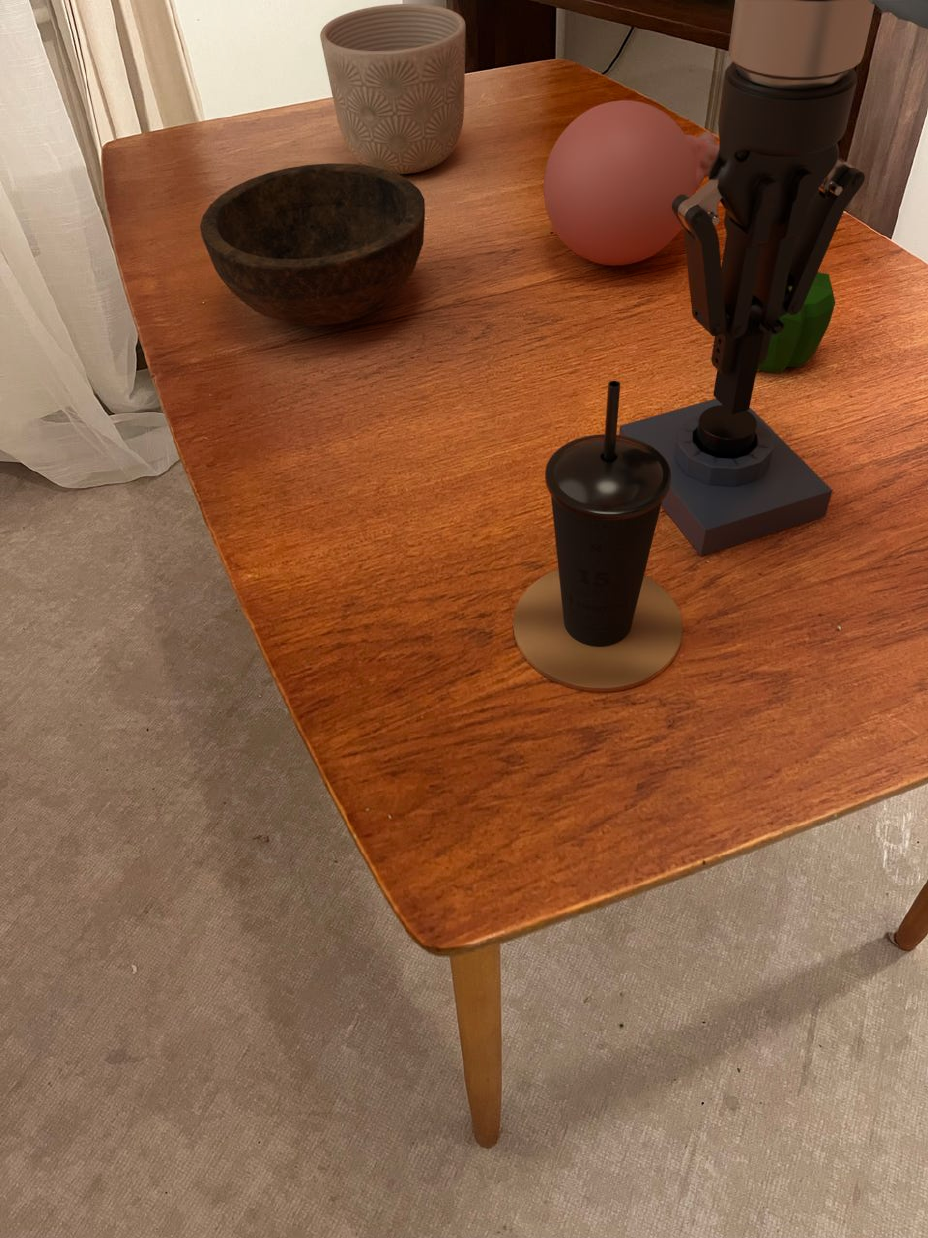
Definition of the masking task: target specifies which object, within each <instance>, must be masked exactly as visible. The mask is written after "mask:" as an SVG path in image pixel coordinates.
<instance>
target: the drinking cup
mask: <svg viewBox="0 0 928 1238" xmlns="http://www.w3.org/2000/svg"><path fill="white" fill-rule="evenodd" d="M620 393H621V382H620V381H618V380H611V381H609V382H608V384H607V396H606V397H607V398H606V412H605V427H604V433H602V434H591V435H586V436H582V437H579V438H576V439H573V440H571V441H569V442H566V443H565V444H564V445H563V444H562V446H560V447H559V448H558V449H557V450H556V451H555V452H553V454H552V455H551V456H550V458H549V459H548V462H547V463H546V465H545V470H544V481H545V486H546V488H547V491H548V493H549V494H550V499H551V509H552V520H553V529H554V541H555V549H556V558H557V569H558V570H559V579H560V589H561V599H562V609H563V619H564V625H565V628H566V630H567V632H568V633H569V634H570V636H571V637H572V638H574V639H575V640H577V641H578V642H580V643H582V644H585V645H589V646H594V647H604V646H610V645H613V644H616V643H618V642H620V641H621V640H622V639H624V638H625V637H626V636H627V635H628V633H629V631H630V629H631V626H632V622H633V618H634V614H635V610H636V606H637V602H638V598H639V594H640V589H641V585H642V581H643V577H644V575H645V573H646V568H647V564H648V561H649V557H650V552H651V549H652V544H653V541H654V537H655V532H656V529H657V524H658V519H659V516H660V512H661V508H662V506H661V504H662V501H663V499H664V498H665V497H666V495H667V493H668V491H669V488H670V484H671V471H670V467H669V465H668V463H667V461H666V459H665V458H664V457H663V456H662V455H661V453H660V452H658V451H657V450H656V449H655V448H653V447H652V446H650V445H648V444H646V443H644V442H642V441H640V440H637V439H634V438H631V437H627V436H621V435H619V434H617V432H618V420H619V406H620Z"/></svg>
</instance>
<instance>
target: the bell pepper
mask: <svg viewBox="0 0 928 1238" xmlns="http://www.w3.org/2000/svg"><path fill="white" fill-rule="evenodd" d="M791 289H792V286H790V288H789V290H790V291H791ZM835 305H836V299H835V294H834V290H833V285H832V282H831V278H830V274H829V273H826V272H825V273H824V272H819V271H818V272H817V274H816V277H815V279H814V281H813V284H812V286H811V288H810V291H809V293H808V295H807V298H806V300H805V302H804V305H803V307H802V309H801V310H800V311H799V312H798V313H797V314H795V315H790V314H789V313H787V314H786V315H784V316H782V317H781V318H779V320H780V321H781V322H782V323H784V324H785V327H784V329H783V330H782V331H781V332H780V333H778V334H776V335H773V334H771V338H770V343H769V348H768V353H767V357H766V359H765V361H764V363H762V364H759V365H758V367H757V371H763V372H767V373H772V374H773V373H780V372H784V371H785V370H786V368H798V367H803V366H805V365H806V364H807V363H808V362H809V361H810V360H812V358H813V356H814V354H815V352H816V351H817V349H818V347H819V346H820V344H821V341H822V339H823V338H824V336H825V333H826V332H827V330H828V328H829V325H830V323H831V320H832V317H833V313H834V309H835Z"/></svg>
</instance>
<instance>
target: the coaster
mask: <svg viewBox="0 0 928 1238" xmlns="http://www.w3.org/2000/svg"><path fill="white" fill-rule="evenodd" d="M512 624H513V625H512V627H513V636H514V641H515V643H516V646H517V649H518V650H519V652H520V654H521V655H522V657H523V659H524V660H525V661H526V662H527V663H528V664H529V665H530V666H531V667H532V668H533V669H534V670H535V671H536V672H538V673H539V674H540V675H542V676H543V677H545V678H547V679H548V680H550V681H552V682H553V683H556V684H558V685H561V686H564V687H566V688H569V689H574V690H578V691H584V692H589V693H612V692H620V691H625V690H629V689H634V688H636V687H638V686H641V685H644V684H646V683H648V682H649V681H652V680H653V679H655V678H656V677H658V676H659V675H660V674H662V673H663V672H664V671H665V670H666V669H667V668H668V667H669V666H670V665H671V663H672V662H673V661H674V660H675V658H676V656H677V655H678V653H679V649H680V647H681V645H682V638H683V634H684V633H683V632H684V630H683V628H684V627H683V618H682V615H681V612H680V608H679V607H678V605H677V603H676V602H675V600H674V598H673V597H672V596H671V594H670V593H669V592H668V591H667V590H666V589H665V588H664V587H663V586H662V585H661V584H659V582H657V581H656V580H654V579H653V578H651V577H649V576H648V575H646V574H644V577H643V581H642V585H641V589H640V594H639V598H638V602H637V606H636V610H635V614H634V618H633V622H632V626H631V629H630V631H629V633H628V635H627V636H626V637H625V638H624V639H622V640H621V641H620V642H618V643H616V644H613V645H610V646H604V647H594V646H589V645H585V644H582V643H580V642H578V641H577V640H575V639H574V638H572V637H571V636H570V634H569V633H568V632H567V630H566V628H565V625H564V619H563V609H562V599H561V589H560V579H559V570H558V568H557V569H554V570H552V571H550V572H548V573H546V574H544V575H542V576H541V577H539V578H538V579H537V580H535V581H534V582H533V583H532V584H530V585H529V587H527V588H526V589H525V591H524V592H523V594H521V596H520V597H519V599H518V602H517V604H516V606H515V610H514V612H513V619H512Z"/></svg>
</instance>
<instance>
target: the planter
mask: <svg viewBox="0 0 928 1238" xmlns="http://www.w3.org/2000/svg"><path fill="white" fill-rule="evenodd" d="M319 38H320V43H321V44H320V45H321V48H322V52H323V58H324V62H325V67H326V72H327V77H328V81H329V87H330V91H331V96H332V101H333V104H334V105H333V106H334V110H335V115H336V119H337V124H338V128H339V131H340V134H341V136H342V139H343V141H344V144H345V145H346V147H347V149H348V150H349V152H350V153H351V155H352V156H353V157H354V158H355V159H356V160H357V161H359V163H361V165H366V166H371V167H376V168H381V169H385V170H387V171H390V172H393V173H396V174H398V175H409V174H415V173H416V174H417V173H420V172H423V171H424V172H425V171H427V170H430V169H432V168H434V167H436V166H438V165H440V164H441V163H442V162H443V161H446V159H447V158H448V157H449V156H450V155H451V153H452V152H453V151H454V149H455V148H456V146H457V144H458V142H459V139H460V136H461V134H462V129H463V124H464V119H465V118H464V116H465V83H466V82H465V81H466V79H465V78H466V21H465V19H464V18H463V16H462V15H461V14H459V13H457V12H456V11H454V10H451V9H448V8H446V7H442V6H437V5H432V4H424V3H423V4H421V3H396V4H395V3H394V4H384V5H383V4H382V5H376V6H371V7H365V8H361V9H357V10H353V11H350V12H347V13H344V14H342V15H340V16H337V17H335V18H333V19H332V20H330V21H329V22H327V23H326V24H325V25H324V26H323V27H322V29H321V30H320V34H319Z"/></svg>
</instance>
